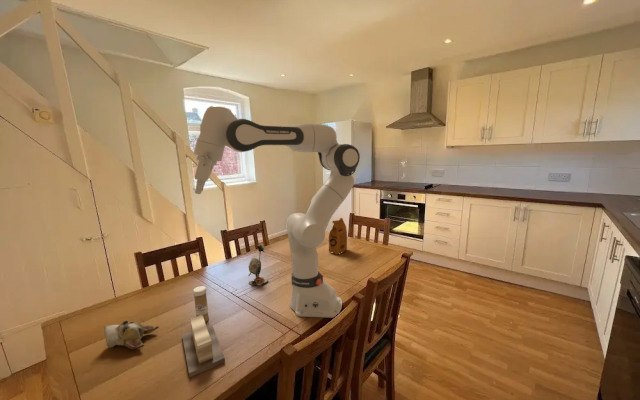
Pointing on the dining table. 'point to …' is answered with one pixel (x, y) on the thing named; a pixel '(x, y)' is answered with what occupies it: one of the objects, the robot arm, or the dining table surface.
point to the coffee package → (338, 237)
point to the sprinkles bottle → (201, 302)
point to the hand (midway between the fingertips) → (198, 192)
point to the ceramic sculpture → (127, 334)
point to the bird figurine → (256, 269)
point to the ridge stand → (201, 347)
